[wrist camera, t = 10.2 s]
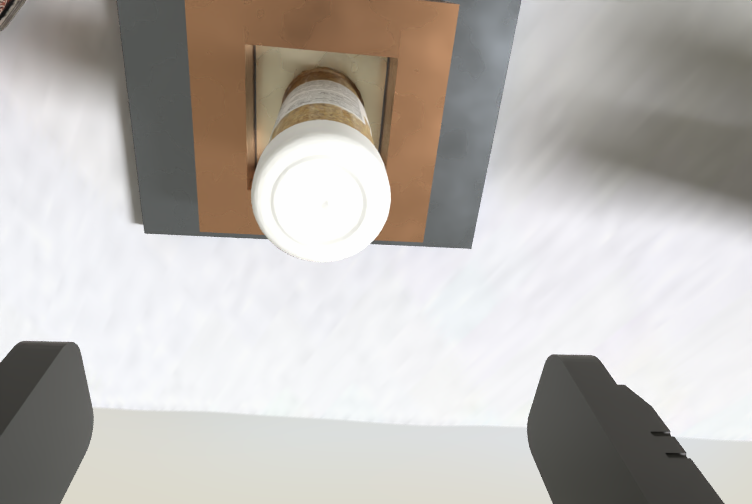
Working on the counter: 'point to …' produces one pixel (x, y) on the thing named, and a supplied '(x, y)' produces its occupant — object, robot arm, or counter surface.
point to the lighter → (8, 11)
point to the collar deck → (274, 74)
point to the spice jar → (321, 172)
